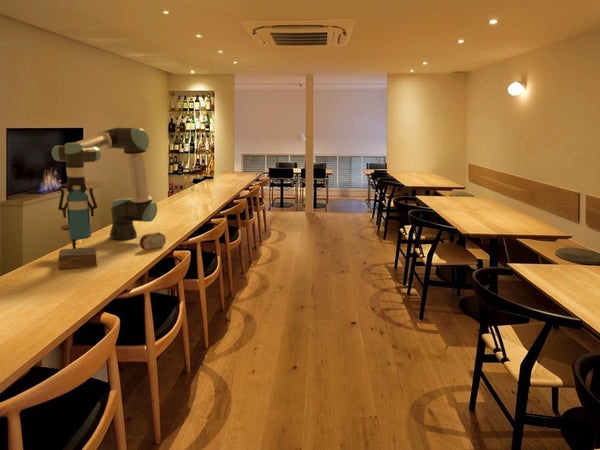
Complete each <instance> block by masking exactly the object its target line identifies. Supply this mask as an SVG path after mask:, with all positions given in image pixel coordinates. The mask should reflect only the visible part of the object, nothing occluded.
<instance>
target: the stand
mask: <svg viewBox="0 0 600 450" xmlns="http://www.w3.org/2000/svg"><path fill="white" fill-rule="evenodd" d="M96 250H97V249H96V247H95V246H91V247H89V246H88V247H79V248H77V247H76V248H75V249H73V248H63V249H60V250H59V253H58V259H57V260H58V270H59V271H65V270H66V271H67V270H76V269H78V268H79V269H88V268H98V263H97V260H98V259H97V252H96Z"/></svg>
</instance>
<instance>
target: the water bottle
mask: <svg viewBox="0 0 600 450" xmlns="http://www.w3.org/2000/svg"><path fill="white" fill-rule="evenodd" d="M73 189H74V191H73V192H71V193H69V192H68V194H67V195H66V196H65V197H66V201H67V200H68V206H67V208H66V210H67V211H68V223H69V230H68V236H69V239H70V240H71V239H77V240H85V239H89V238H91V237H92V232H91V224H90V218H89V209H90V208H89V206H88V203H87V200H88V201H89V202H90V200H89V196H88V194H87V193H86V192H85V193H83V191H82V192H81V191H79V189H81V188H80V185H79V186H73Z"/></svg>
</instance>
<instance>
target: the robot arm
mask: <svg viewBox="0 0 600 450" xmlns="http://www.w3.org/2000/svg"><path fill="white" fill-rule="evenodd" d="M149 144H150V138H149V135H148V133H147V132H146V131H145V130H144V129H143V128H141V127H139V128H138V127H114V128H110V129H107V130H106V129H105V130H104V131H100V132H98V133H97V134H96V135H93V136H90V137H88V138H87V137H86V138H84V139H81V140H78V141H76V142H66V143H65V144H64V145H55V146H53V147H52V150H51V157H52V158H53V160H54V161H57V162H65V165H66V168H65V169H66V176H67V177H66V181H67V187H66V188H61V189H60V200H59V202H58V208H57V209H58V210H59V211H62V214H63V215H62V217H63V218H64V219H65V221H66V225H69V223H68V211H67V206H68V200H67V199H66V202H65V203H64V206H63V202H64V198H65V194H66V193H67V192H68V194H69V193H71V192H73V191H74V189H73V186H79V185H80V188H81V189H79V191H81V192H82V191H83V193H86V192H87V193H89V195H90V198H91V202H92V203H91V202H90V200H89V199H88V200H89V201H88V200H87V203H88V206H89V218H90V225H92V223H93V222H92V221H93V220H92V217H94V216H95V213H94V212H95V211H94V210H96V209H98V204H97V201H96V198H95V196H94V192H93V190H94V188H93V187H87V186H86V177H85V176H86V175H85V163H94V162H98V161H99V160H100V159H101V157H102V156H101V154H102V153H101V150H110V149H119V150H123V153H124V154H125V155H126V156H127V162H128V169H129V176H130V182H131V190H132V197H125V198H118V199H113V200H111V205H110V210H111V211H110V212H111V228H110V232H109V239H110V240H117V241H123V240H125V241H126V240H131V239H132V240H133V239H135V238H137V236H138V234H137V231H136V228H135V225H134V222H144V223H146V222H147V223H150V222H153V221H154V220H155V218H156V216H157V214H158V204H157V203H156V202H155V201H153V198H152V196H150V194H149V188H148V180H147V178H148V177H147V172H146V165H145V158H144V157H145V156H144V155H145V153H146V152H147V151H146V150H147V149H148V148H149ZM92 204H93V205H92Z"/></svg>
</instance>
